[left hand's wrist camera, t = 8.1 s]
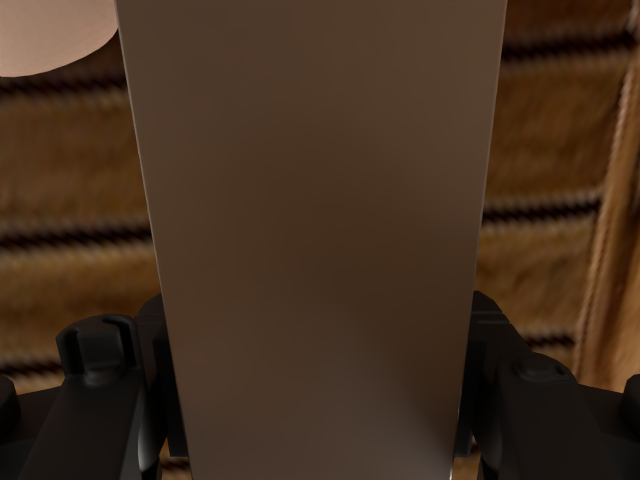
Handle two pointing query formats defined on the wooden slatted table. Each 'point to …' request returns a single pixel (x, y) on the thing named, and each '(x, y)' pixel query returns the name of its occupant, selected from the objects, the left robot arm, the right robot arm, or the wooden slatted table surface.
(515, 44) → the wooden slatted table surface
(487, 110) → the bar
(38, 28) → the anatomical model
